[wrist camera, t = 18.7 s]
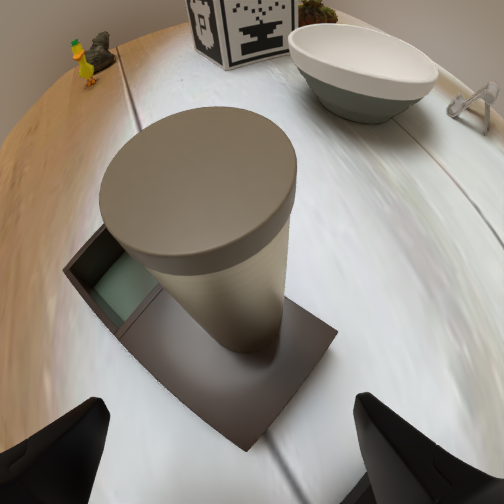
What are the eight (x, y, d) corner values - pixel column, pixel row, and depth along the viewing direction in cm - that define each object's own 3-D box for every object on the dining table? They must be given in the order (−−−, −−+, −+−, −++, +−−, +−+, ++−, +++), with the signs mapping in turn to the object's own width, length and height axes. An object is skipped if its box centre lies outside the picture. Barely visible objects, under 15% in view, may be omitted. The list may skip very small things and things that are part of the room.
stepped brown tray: (252, 441, 18) (246, 452, 14) (88, 289, 25) (61, 270, 21) (326, 343, 21) (338, 331, 17) (151, 220, 28) (134, 192, 24)
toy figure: (98, 85, 46) (80, 40, 36) (84, 93, 46) (63, 48, 35) (98, 75, 49) (81, 34, 39) (84, 82, 49) (67, 42, 38)
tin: (251, 369, 16) (195, 307, 5) (189, 322, 18) (69, 193, 7) (299, 306, 18) (334, 143, 7) (237, 265, 20) (192, 92, 8)
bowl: (334, 63, 42) (338, 17, 33) (435, 112, 34) (451, 64, 26) (259, 102, 36) (254, 41, 28) (387, 171, 29) (411, 101, 20)
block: (257, 33, 51) (253, -23, 38) (298, 52, 44) (297, -17, 31) (195, 50, 48) (182, -11, 35) (225, 71, 42) (213, -7, 28)
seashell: (121, 39, 45) (121, 30, 50) (72, 36, 39) (78, 27, 43) (108, 81, 53) (109, 68, 58) (63, 79, 46) (68, 66, 51)
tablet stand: (456, 99, 37) (469, 64, 29) (490, 124, 34) (506, 89, 26) (444, 113, 34) (459, 72, 27) (483, 141, 31) (503, 101, 24)
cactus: (307, 18, 57) (307, -12, 48) (358, 34, 51) (361, 1, 42) (260, 29, 52) (258, -6, 44) (314, 45, 46) (316, 4, 38)
